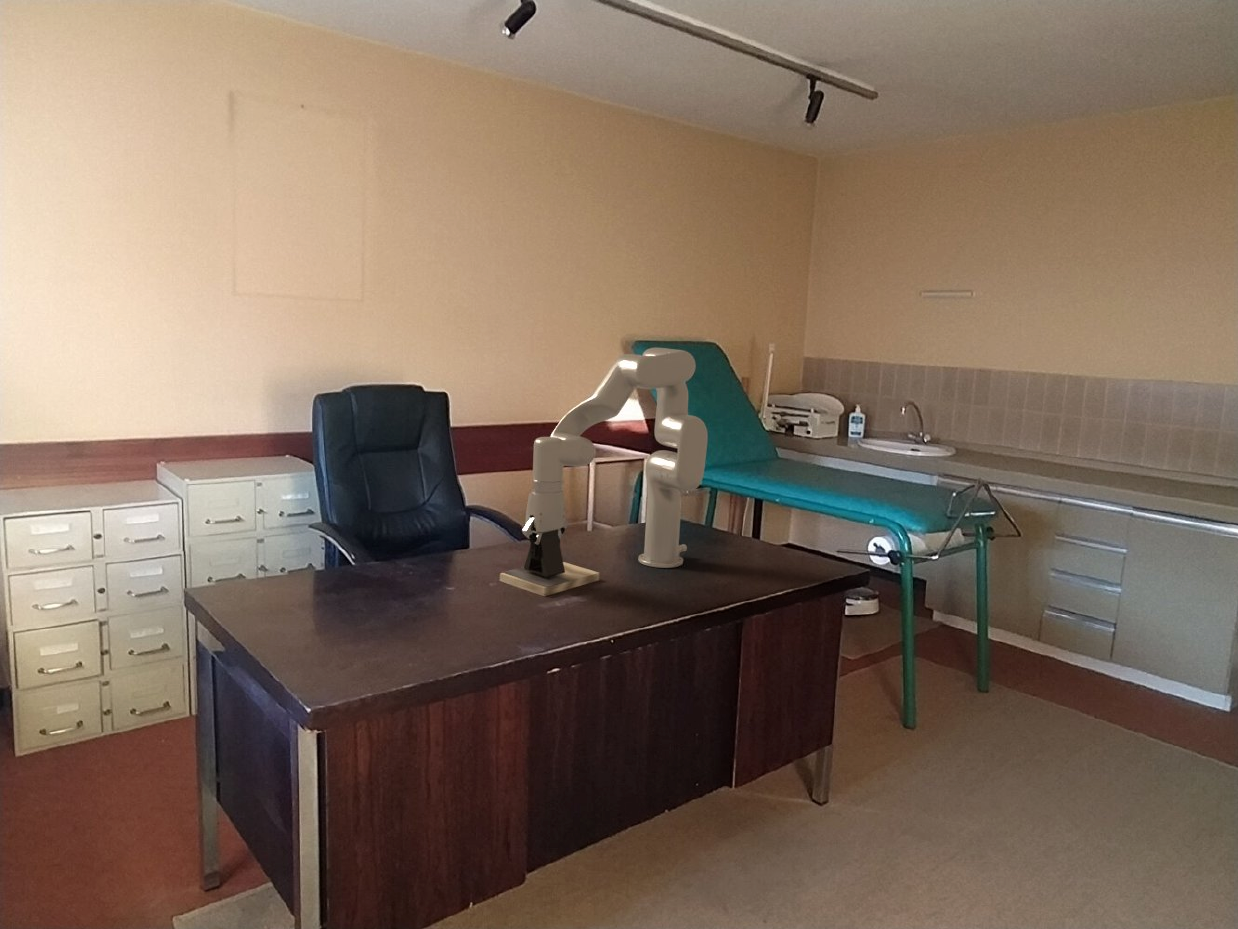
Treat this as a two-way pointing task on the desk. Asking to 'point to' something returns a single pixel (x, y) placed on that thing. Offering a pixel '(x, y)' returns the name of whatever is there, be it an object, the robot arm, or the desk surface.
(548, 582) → the subfloor panel
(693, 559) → the desk surface
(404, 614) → the desk surface
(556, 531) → the dark a-frame stand
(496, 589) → the desk surface
